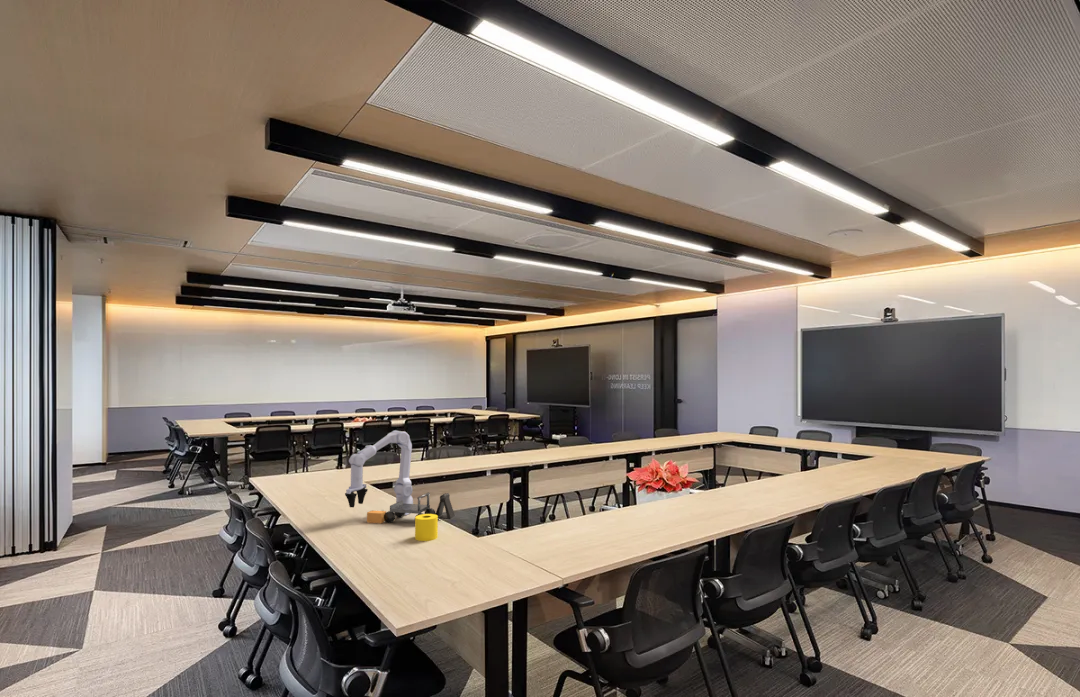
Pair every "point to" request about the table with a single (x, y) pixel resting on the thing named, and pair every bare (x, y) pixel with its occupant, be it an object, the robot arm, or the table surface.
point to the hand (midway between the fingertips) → (356, 505)
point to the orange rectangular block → (375, 516)
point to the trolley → (408, 509)
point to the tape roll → (426, 527)
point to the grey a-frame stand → (448, 507)
